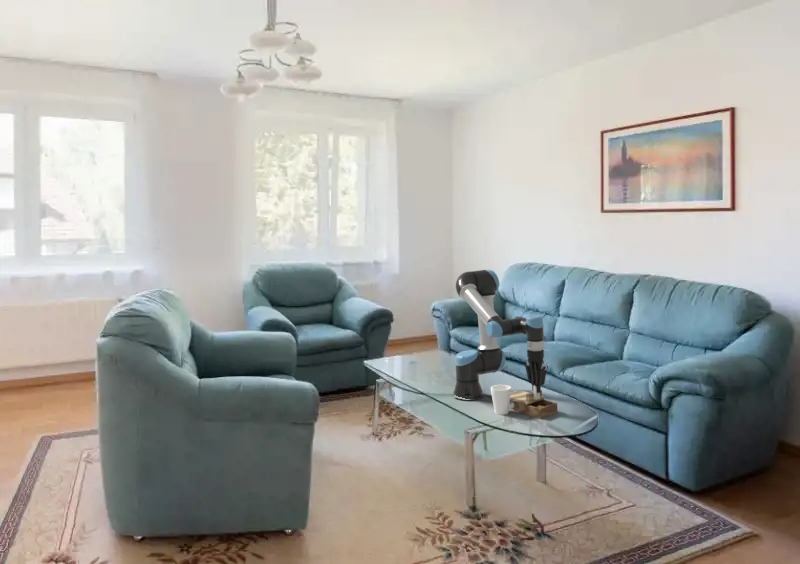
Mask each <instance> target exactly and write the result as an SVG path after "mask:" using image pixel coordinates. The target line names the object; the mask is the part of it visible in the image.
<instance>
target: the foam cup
mask: <svg viewBox="0 0 800 564" xmlns="http://www.w3.org/2000/svg"><path fill="white" fill-rule="evenodd" d="M511 392H512V386H510V385H508V384H495V385H492V386H490V394H491V398H492V405H493V410H494V413H495V414H496V415H501V416H502V415H503V416H505V415H508V414H509V412H510V404H511V400H510V395H511Z"/></svg>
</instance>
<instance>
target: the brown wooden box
mask: <svg viewBox="0 0 800 564" xmlns="http://www.w3.org/2000/svg"><path fill="white" fill-rule="evenodd" d="M539 405H541V406H545V407H542V408H537V406H539ZM513 411H514V412H516V413H519V414H523V415H526V416H529V417H532V418H535V419H539V420H541V419H544V418H546V417H550V416H552V415H556V414H557V413H558V402H553V401H551V400H547V399H545V398H544V399H543V400H540V401H537V402H534V403H531V404H528V405H526V404H523V403H519V402H516V401H513Z"/></svg>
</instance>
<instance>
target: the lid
mask: <svg viewBox="0 0 800 564" xmlns="http://www.w3.org/2000/svg"><path fill="white" fill-rule="evenodd" d="M543 399H544V400H545V396H543V390H541V392H540V399H537V400H535V399H534V395H533V391H531V392H528V391H525V390H520V389H518V390H514V391H511V395H510V401H512V402H514V401H516V402H519V403H523V404H526V405H528V404H531V403H534V402H537V401H540V400H543Z"/></svg>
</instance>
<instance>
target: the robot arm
mask: <svg viewBox="0 0 800 564" xmlns="http://www.w3.org/2000/svg"><path fill="white" fill-rule="evenodd" d="M499 288H500V279H499V277H498V275H497V273H496V272H495V271H494V270H492V269H480V270H473V271H472V270H471V271H465V272H463V273H461V274H460V275H459V276H458V277H457V278H456V282H455V290H456V293H457V295H458V297H459V298H460V299H462V300H464V301H466V303H467V304H468V305H469V307H471V309H472V310H473V311H474V312H475V314H477V322H478V334H479V337H478V338H479V346H478V347H477V350H476V349H469V350H467V349H466V350H463V351H460V352H458V353H457V354H456V355H455V360H454V361H455V362H454V363H455V380H456V381H455V388H454V391H453V395H454V394H455V395H456V396H458V397H462V398H465V399H476V400H479V399H478V398H480V399H481V397H482V398H483V397H484V395H483V394H484V392H483V389H482V386H481V384H480V380H479V379H480V377H479V376H481V375H485V374H490V373H493V374H494V373H496V372H500V371H502V370H503V369H504V367H505V365H506V355H505V352H504V351H503V349H501V347H500V345H498V344H497V338H502V337H508V336H514V335H519V334H520V335H521V334H522V335H525V336H526V348H527V350H526V355H527V356H526V357H527V361H525V362H523V364H524V367H525V373H526V376H527V380H528V383H529V384H531V387H532V389H531V390H532V391H531V392H533V395H534V399H535V400H537V399H540V392H541V389H542V387H541V386H544V385H545V383H546V378H547V377H546V375H547V371H548V369H549V365H546V364H545V361H544V358H545V350H544V347H545V346H544V345H545V344H544V342H545V341H544V320H543V317H542V316H541V315H536V314H535V315H532V314H531V315H528V316H526V317H523V316H514V317H512V318H508V319H502V318H501V317H500V316H499V314H498V313H497V312H496V311H495V309H494V308H495V305H494V298H495V297H496V292H497V291H498V290H499Z"/></svg>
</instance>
